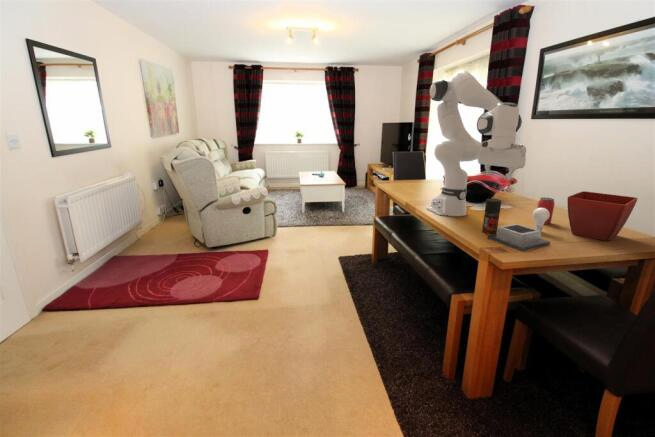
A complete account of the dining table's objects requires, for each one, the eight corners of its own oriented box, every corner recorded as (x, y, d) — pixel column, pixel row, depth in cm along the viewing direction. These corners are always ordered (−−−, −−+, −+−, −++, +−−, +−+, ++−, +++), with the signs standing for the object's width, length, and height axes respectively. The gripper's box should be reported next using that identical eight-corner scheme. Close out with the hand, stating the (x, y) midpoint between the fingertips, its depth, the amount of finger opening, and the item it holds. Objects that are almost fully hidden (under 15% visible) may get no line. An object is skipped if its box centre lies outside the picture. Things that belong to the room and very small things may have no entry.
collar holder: (487, 238, 136) (488, 226, 135) (513, 233, 142) (515, 221, 141) (521, 251, 122) (524, 237, 121) (549, 244, 128) (552, 231, 126)
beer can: (553, 224, 153) (558, 200, 149) (538, 224, 154) (542, 200, 151) (547, 220, 159) (551, 197, 156) (532, 220, 160) (536, 197, 157)
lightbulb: (548, 231, 143) (553, 208, 140) (542, 234, 140) (547, 210, 137) (533, 228, 148) (537, 205, 145) (527, 230, 145) (531, 207, 142)
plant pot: (559, 233, 141) (566, 196, 136) (575, 225, 152) (582, 190, 147) (614, 246, 126) (625, 204, 121) (628, 236, 137) (638, 197, 132)
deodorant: (479, 232, 143) (484, 200, 139) (485, 229, 147) (489, 198, 143) (493, 235, 139) (498, 202, 135) (498, 232, 143) (503, 200, 139)
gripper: (532, 144, 124) (526, 179, 128) (487, 142, 142) (483, 173, 146) (521, 145, 122) (515, 180, 126) (477, 142, 140) (473, 174, 144)
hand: (498, 176), depth 136 cm, fingers open, 8 cm apart
